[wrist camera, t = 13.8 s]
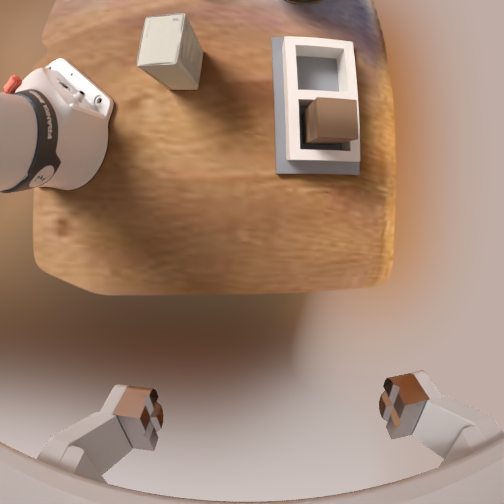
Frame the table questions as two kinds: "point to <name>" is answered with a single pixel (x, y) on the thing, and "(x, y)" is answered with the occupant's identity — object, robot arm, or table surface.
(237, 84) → the table surface
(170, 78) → the skincare box
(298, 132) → the slot rack
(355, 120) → the walnut peg
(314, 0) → the apothecary jar
